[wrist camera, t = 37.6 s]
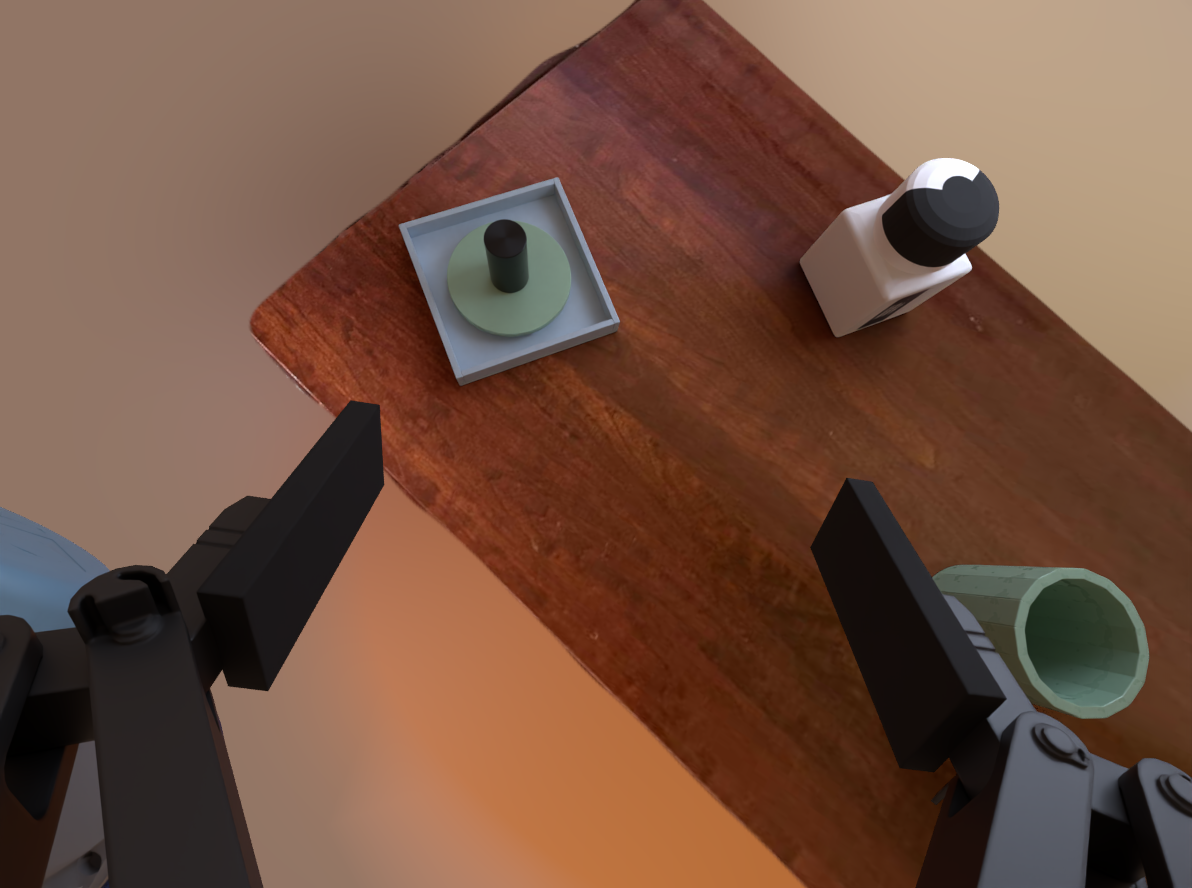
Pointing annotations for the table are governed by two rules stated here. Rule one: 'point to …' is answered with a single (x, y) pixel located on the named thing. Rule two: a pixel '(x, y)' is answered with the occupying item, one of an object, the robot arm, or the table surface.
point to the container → (901, 245)
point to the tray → (492, 353)
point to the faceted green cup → (1057, 633)
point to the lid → (509, 278)
